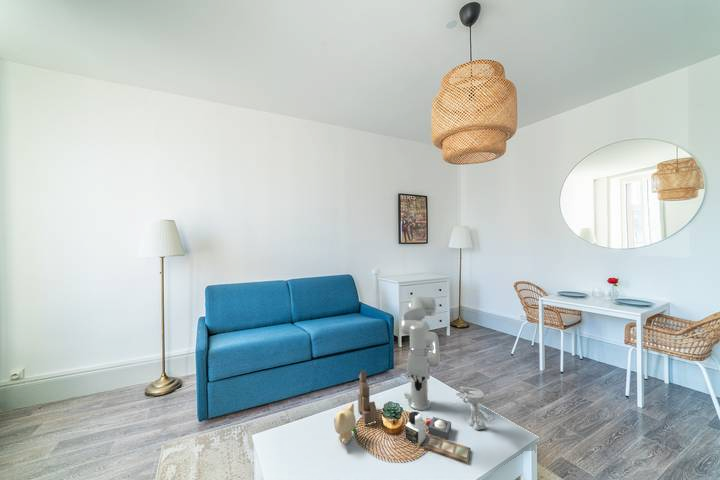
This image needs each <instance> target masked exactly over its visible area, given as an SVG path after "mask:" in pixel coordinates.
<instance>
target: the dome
mask: <svg viewBox="0 0 720 480" xmlns="http://www.w3.org/2000/svg"><path fill="white" fill-rule="evenodd" d="M434 427H437V428H441V429H444V430H445V428H446V424H445V423H444V422H443V421H442V420H437V421H435V423H434Z"/></svg>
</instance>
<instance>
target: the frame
mask: <svg viewBox="0 0 720 480" xmlns="http://www.w3.org/2000/svg"><path fill="white" fill-rule="evenodd" d="M429 437H430V434H429V433H426V439H425V440H424V442H423V446H422V447H421V448H425V446H426V444H427V442H428V439H429ZM425 449H426V448H425Z"/></svg>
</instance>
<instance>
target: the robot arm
mask: <svg viewBox="0 0 720 480" xmlns="http://www.w3.org/2000/svg"><path fill="white" fill-rule="evenodd" d="M406 310H407V311H406V312H404V313H403V314H402V316H401V320H400V331H401V332H400V333H402V335H404V336H409V352H408V353H407V354H408V355H407V363H406V371H407V373H406V375H407V376H408V377H410V393H408V392H404V399H408V406H409V407H410V408H412V409H414V410H417V411H425V410H428V409H430V408H431V406H432V405H431V401H430V399H429V395H428V392H429V391H428V390H429V388H428V380H430V369H431V368H432V369H438V368H439V367H440V364H441V357H440V342H439V336H438V334H437V332H435V331H430V325H429V323H428V322H427V321H425V320H424V319H425V318H426V317H434V316H435V315H436V311H437V304H436V300H435V299H434V298H433V297H432V296H414V297H413V298H411V300H410V302H409V303H407V305H406Z"/></svg>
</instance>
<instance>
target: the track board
mask: <svg viewBox="0 0 720 480" xmlns="http://www.w3.org/2000/svg"><path fill="white" fill-rule="evenodd" d="M429 435H430V434H429ZM471 450H472V449H471V447H469V446H465V445H463V444H460V443H457V442H454V441H450V440H449V439H448V440H446V439H443V438H440V437H436V436H433V435H430V438H429V440H428V442H427V445H426V447H425V451H427V452H431V453H433V454H436V455H438V456H439V455H440V456H441V457H445V458H448V459H451V460H453V461H456V462H459V463H462V464H464V465H469V460H470V454H471Z"/></svg>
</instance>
